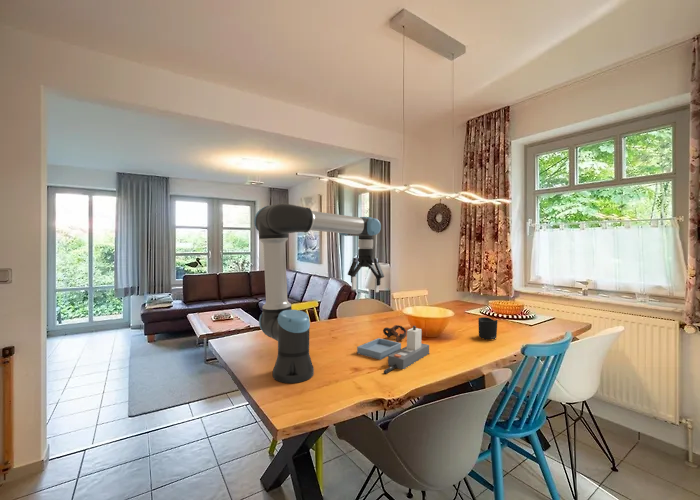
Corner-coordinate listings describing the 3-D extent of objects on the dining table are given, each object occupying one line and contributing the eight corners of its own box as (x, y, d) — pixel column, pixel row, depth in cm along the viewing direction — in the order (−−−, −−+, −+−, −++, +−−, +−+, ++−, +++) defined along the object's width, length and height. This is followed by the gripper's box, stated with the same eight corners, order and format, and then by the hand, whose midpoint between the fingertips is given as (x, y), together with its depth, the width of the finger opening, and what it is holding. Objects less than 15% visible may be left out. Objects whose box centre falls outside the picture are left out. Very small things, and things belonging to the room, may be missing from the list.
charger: (415, 355, 136) (415, 328, 136) (406, 353, 139) (407, 326, 138) (421, 351, 141) (421, 325, 141) (413, 349, 143) (413, 324, 143)
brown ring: (402, 336, 172) (407, 325, 168) (403, 349, 163) (408, 338, 160) (380, 331, 171) (385, 319, 167) (380, 343, 163) (385, 332, 159)
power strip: (392, 376, 119) (392, 364, 119) (376, 371, 123) (377, 359, 123) (429, 353, 144) (429, 343, 144) (415, 350, 148) (415, 340, 148)
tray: (380, 359, 135) (380, 352, 135) (357, 353, 143) (357, 346, 143) (400, 349, 149) (401, 343, 149) (378, 344, 157) (378, 338, 157)
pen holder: (478, 339, 167) (479, 320, 167) (477, 334, 176) (477, 316, 176) (498, 341, 164) (498, 322, 164) (495, 336, 173) (496, 318, 173)
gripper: (391, 248, 153) (390, 292, 154) (349, 247, 168) (349, 287, 168) (383, 248, 147) (383, 294, 148) (341, 247, 162) (340, 289, 162)
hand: (365, 290), depth 158 cm, fingers open, 13 cm apart
